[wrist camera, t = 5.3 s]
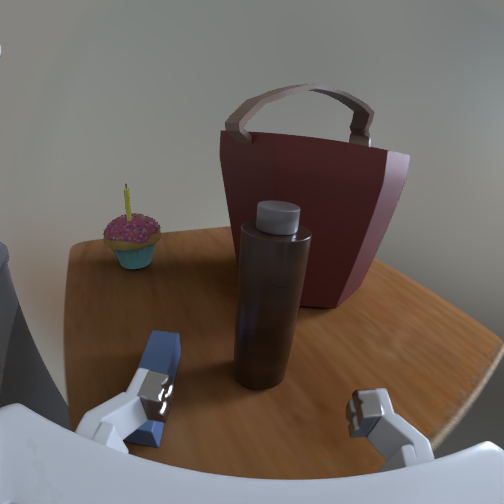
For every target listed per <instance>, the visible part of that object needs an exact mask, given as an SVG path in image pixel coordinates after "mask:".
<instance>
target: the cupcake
mask: <svg viewBox="0 0 504 504" xmlns="http://www.w3.org/2000/svg"><path fill="white" fill-rule="evenodd" d="M125 187H126V189H124V196H125V207H126V215H122V216H121V217H118V218H116V219H115V220H112V222H111V223H109V225H107V228H106V229H105V231H104V241H105V243H106V244H107V246H108V247H109V248H111V249H113V251H114V252H115V254H116V256H117V258H118V260H119V262H120V264H121V266H122V267H124V268H126V269H139V268H143V267H145V266H147V265H149V264H150V262H151V259H152V254H153V250H154V247H155V244H156V242H157V241H159V240H160V238H161V232H160V225H158V222H156V221H155V220H153V218H150V217H148V216H143V215H142V214H135V213H134V214H131V210H130V197H129V189H127V184H125Z"/></svg>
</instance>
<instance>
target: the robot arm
mask: <svg viewBox="0 0 504 504" xmlns="http://www.w3.org/2000/svg"><path fill="white" fill-rule="evenodd" d="M0 55H1V46H0ZM171 383H172V375H169V374H164V373H160V372H156V371H152V370H148V369H144V368H139V369H138V370H137V371H136V373H135V375H134V377H133V379H132V381H131V383H130V385H129V387H128V389H127V391H126V393H125V392H122V393H120V394H119V395H117V396H115V397H113V398H111V399H110V400H108V401H106V402H104V403H103V404H101V405H99V406H97V407H95V408H93V409H92V410H90V411H88V412H86V413H85V414H84V416H83V418H82V420H81V422H80V424H79V425H78V427H77V429H76V431H75V433H74V432H72V431H70V430H68V429H66V428H63V427H61V426H59V425H57V424H55V423H54V422H52V421H50V420H48V419H46V418H44V417H42V416H41V415H39V414H37V413H35V412H34V411H32V410H30V409H29V408H27V407H25V406H24V405H22V404H19V403H14V404H10V405H7V406H4V407H2V408H0V504H504V450H502V449H501V448H499V447H498V446H497V445H495V444H494V443H492V442H490V441H485V442H482V443H480V444H477V445H475V446H473V447H470V448H468V449H465V450H463V451H459V452H457V453H454V454H451V455H448V456H445V457H442V458H438V459H435V458H434V455H433V452H432V449H431V446H430V443H429V440H428V439H427V438H426V437H424V436H423V435H422V434H421V433H420V432H418V431H417V430H416V429H415V428H414V427H412V426H411V425H410V424H409V423H407V422H406V421H405V420H404V419H403V418H401V417H400V416H399V415H398V414H395V413H394V410H393V407H392V404H391V401H390V398H389V396H388V393H387V390H386V389H385V388H383V389H364V390H355V391H354V392H353V394H352V399H351V400H349V401H348V404H347V407H346V418H347V420H348V421H349V422H350V424H349V426H348V429H349V435H350V438H355V437H366V438H367V439H368V440H369V441H370V442H371V443H372V445H373V446H374V447H375V448H376V449H377V450H378V452H379V453H380V454H381V455H382V456H383V457H384V458H385V460H386V461H387V462H386V463H385V464H384V465H383V466H382V467H381V468H380V469H379V473H374V474H367V475H360V476H352V477H343V478H331V479H314V480H271V479H254V478H242V477H233V476H224V475H217V474H210V473H204V472H199V471H193V470H188V469H183V468H179V467H174V466H170V465H166V464H162V463H158V462H154V461H150V460H147V459H143V458H140V457H137V456H134V455H130V454H128V452H129V451H128V449H127V447H126V445H125V444H124V442H123V441H122V440H123V439H125V438H126V437H127V436H128V435H130V434H131V433H132V432H134V431H135V430H136V429H137V428H139V427H140V426H141V425H143V424H144V423H145V422H146V421H148V419H149V420H153V421H158V422H162V423H166V420H167V417H168V414H169V409H168V407H169V406H170V405H172V402H173V398H174V386H173V385H172V384H171Z"/></svg>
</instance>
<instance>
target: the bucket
mask: <svg viewBox="0 0 504 504" xmlns="http://www.w3.org/2000/svg"><path fill="white" fill-rule="evenodd" d="M306 90H309V91H315V92H319V93H323V94H326V95H329V96H331V97H333V98H335V99H337V100H339V101H340V102H342V103H343V104H345V105H346V106H348V107H349V108H350V109H352V110H353V111H354V114H353V119H352V123H351V125H350V130H351V134H350V139H349V143H347V142H341V141H335V140H328V139H321V138H313V137H305V136H296V135H287V134H275V133H262V132H247V131H246V130H245V129H244V128H243V127H244V126H245V125H246V123H247V122H248V121H249V120H250V119H251V118H252V117H253V116H254V115H255V114H256V112H258V111H259V110H260V109H261V108H262V107H263V106H264V105H265V104H266V103H269V102H272V101H275V100H278V99H281V98H283V97H285V96H287V95H290V94H293V93H297V92H301V91H306ZM373 116H374V111H373V110H372V109H371V108H370V107H369V106H368V105H367V104H365V103H364V102H363V101H361V100H359V99H358V98H356V97H354V96H352V95H350V94H348V93H346V92H344V91H341V90H338V89H335V88H331V87H327V86H322V85H317V84H303V85H293V86H288V87H283V88H279V89H276V90H272V91H269V92H266V93H264V94H262V95H259V96H257V97H254V98H251V99H248V100H246V101H245V102H244V103H243V104H242V105H241V106H240V107H239V108H238V109H237V110H236V111H235V112H234V113H233V114H232V115H230V117H229V118H228V119H227V121H226V122H225V128H226V131H221V137H220V161H221V168H222V175H223V181H224V187H225V193H226V199H227V205H228V211H229V217H230V224H231V230H232V236H233V242H234V247H235V253H236V259H237V265H238V270H239V254H240V238H241V226H242V224H243V223H245V222H247V221H249V220H254V219H257V207H258V203H259V202H262V201H270V200H273V201H284V202H289V203H292V204H295V205H297V206H299V207H300V216H299V224H300V225H303V226H305V227H306V228H308V229H309V230H310V231H311V233H312V236H311V243H310V249H309V255H308V261H307V267H306V273H305V278H304V284H303V289H302V295H301V300H300V305H299V306H309V307H323V308H336V307H337V306H339V305H340V304H341V303H342V302H343V301H344V300H345V299H346V298H348V297H349V296H350V295H351V294H352V293H353V292H354V291H355V290H356V289H357V288H358V287H360V285H361V283H362V281H363V279H364V277H365V275H366V273H367V271H368V269H369V267H370V265H371V263H372V261H373V259H374V257H375V254H376V252H377V250H378V247H379V245H380V243H381V241H382V239H383V237H384V234H385V232H386V230H387V227H388V225H389V223H390V220H391V218H392V215H393V213H394V211H395V208H396V206H397V203H398V200H399V198H400V195H401V193H402V190H403V187H404V184H405V181H406V179H407V172H408V166H409V159H410V155H406V154H401V153H397V152H393V151H388V150H384V149H379V148H374V147H370V143H371V137H370V135H369V132H368V131H369V127H370V125H371V123H372V120H373Z"/></svg>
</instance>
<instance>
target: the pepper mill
mask: <svg viewBox="0 0 504 504" xmlns="http://www.w3.org/2000/svg"><path fill="white" fill-rule="evenodd" d="M299 216H300V207H299V206H297V205H295V204H292V203H289V202H284V201H273V200H270V201H262V202H259V203H258V207H257V219H254V220H249V221H247V222H245V223H243V224H242V226H241V238H240V254H239V270H238V287H237V304H236V322H235V341H234V361H233V372H234V375H235V377H236V379H237V380H238V381H239V382H240V383H241V384H243V385H245V386H247V387H249V388H253V389H269V388H272V387H274V386H276V385H278V384H279V383H280V382H281V381H282V380H283V378H284V376H285V371H286V367H287V363H288V358H289V354H290V349H291V345H292V340H293V335H294V330H295V325H296V321H297V316H298V310H299V305H300V300H301V295H302V289H303V284H304V278H305V273H306V267H307V261H308V255H309V249H310V243H311V236H312V233H311V231H310V230H309V229H308V228H306V227H305V226H303V225H300V224H299Z"/></svg>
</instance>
